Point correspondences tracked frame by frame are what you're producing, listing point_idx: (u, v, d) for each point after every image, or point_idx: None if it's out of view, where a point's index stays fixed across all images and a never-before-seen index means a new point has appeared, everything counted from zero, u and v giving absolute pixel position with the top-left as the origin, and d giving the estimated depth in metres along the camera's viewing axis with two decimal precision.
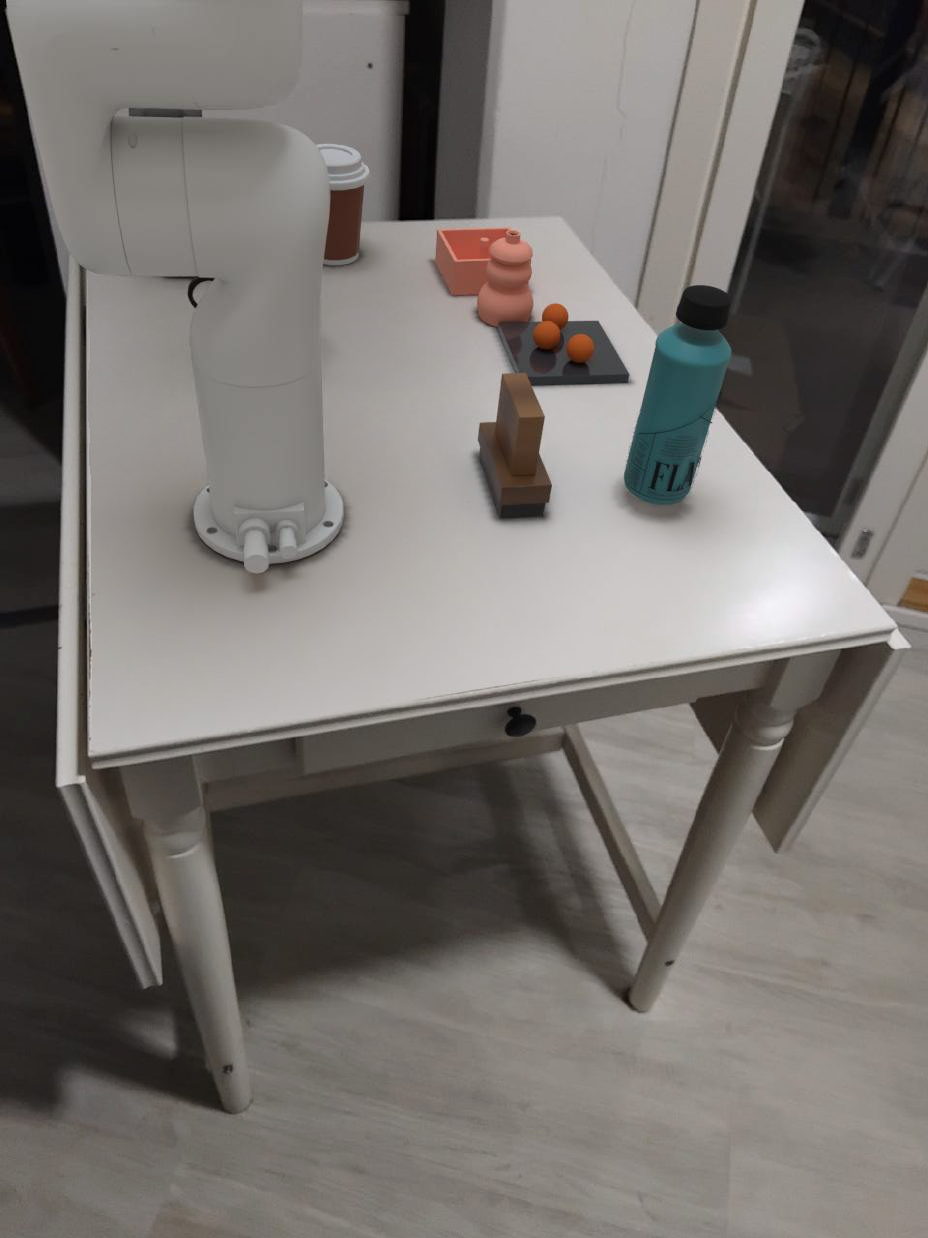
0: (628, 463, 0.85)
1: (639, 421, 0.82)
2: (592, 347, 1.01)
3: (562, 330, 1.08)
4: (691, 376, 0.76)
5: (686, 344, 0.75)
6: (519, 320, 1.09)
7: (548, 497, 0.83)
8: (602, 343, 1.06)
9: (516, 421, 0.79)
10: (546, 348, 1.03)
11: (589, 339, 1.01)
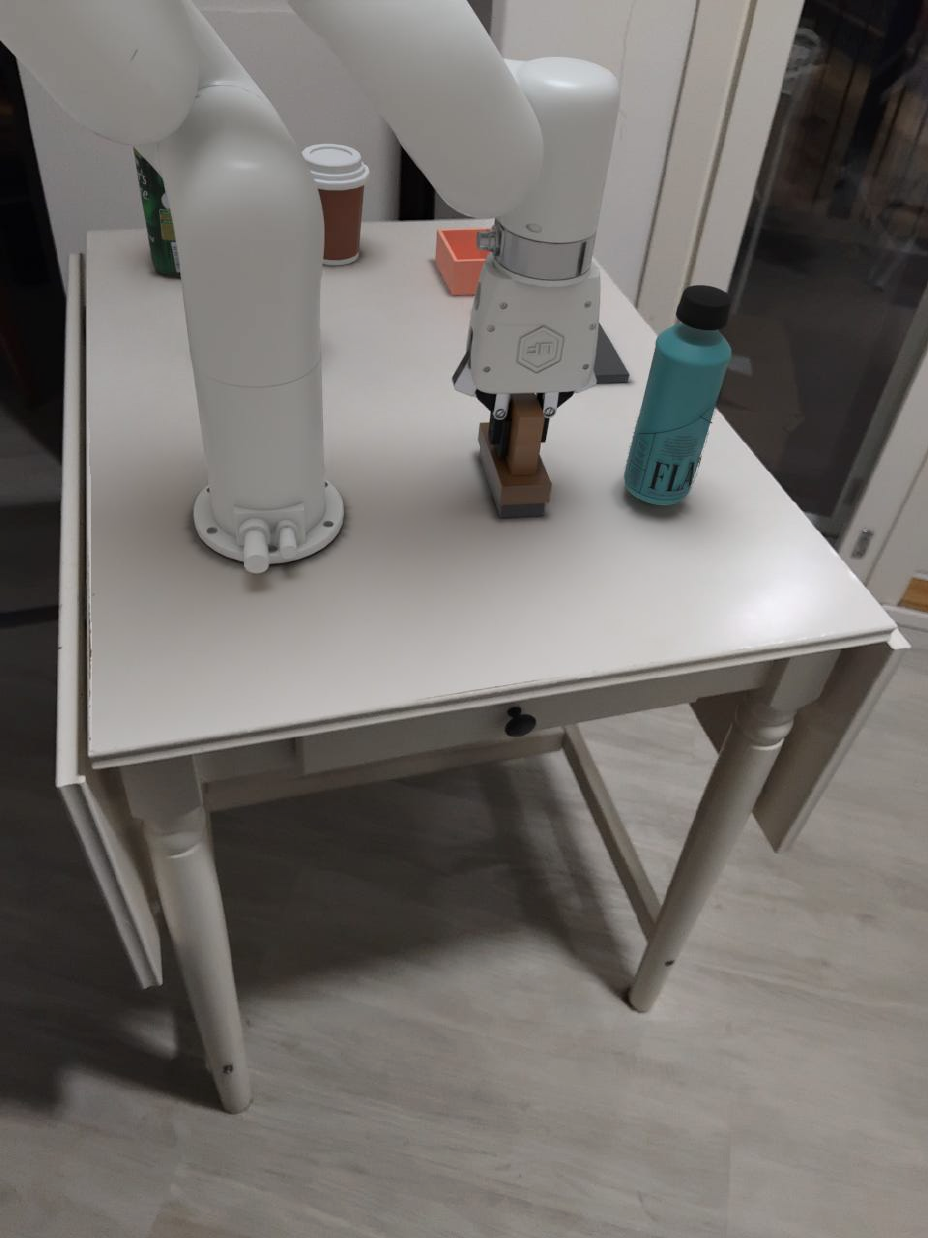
0: (628, 463, 0.85)
1: (639, 421, 0.82)
2: None
3: None
4: (691, 376, 0.76)
5: (686, 344, 0.75)
6: None
7: (548, 497, 0.83)
8: (602, 343, 1.06)
9: (516, 421, 0.79)
10: None
11: None
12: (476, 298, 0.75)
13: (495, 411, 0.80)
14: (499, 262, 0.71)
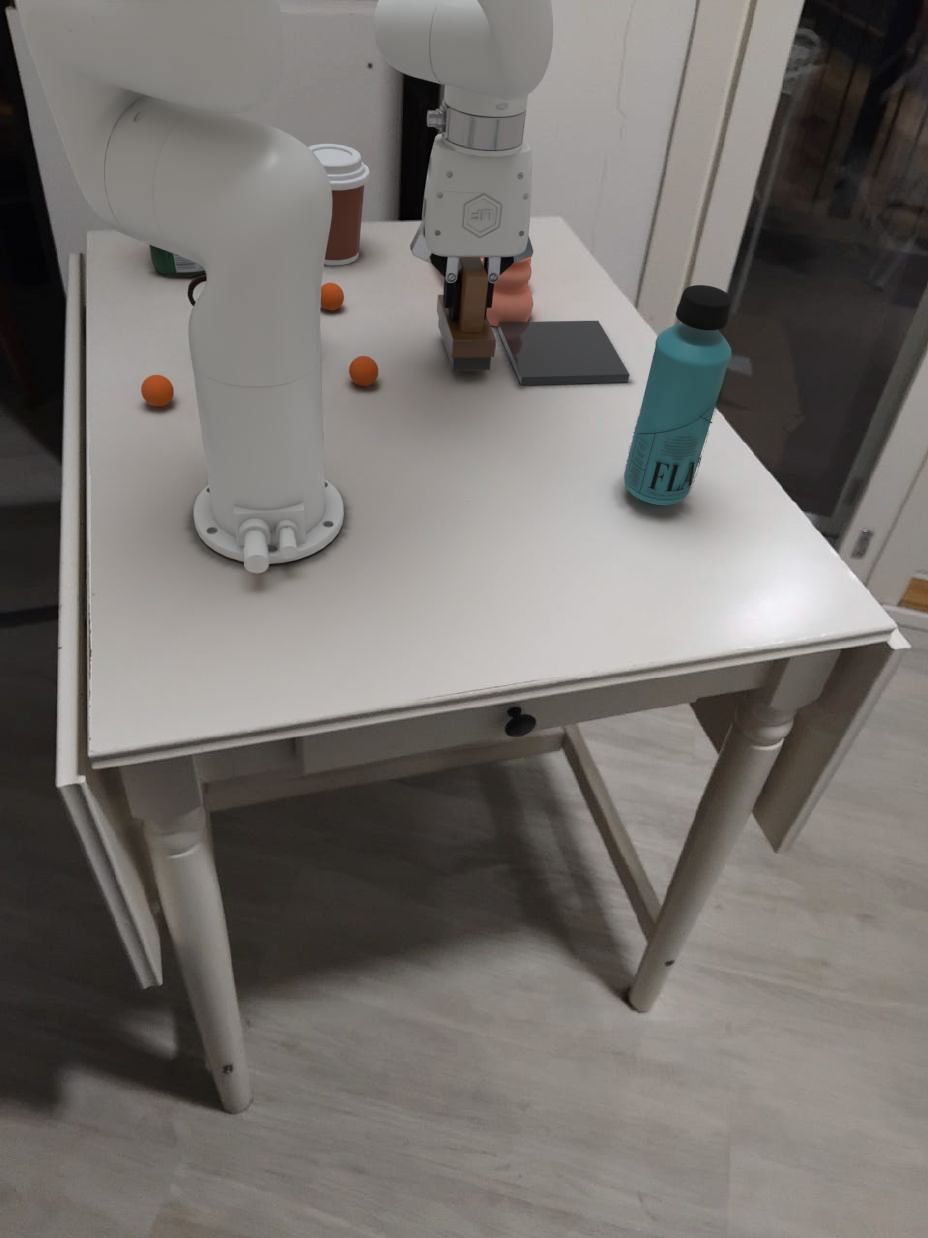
0: (628, 463, 0.85)
1: (639, 421, 0.82)
2: None
3: (562, 330, 1.08)
4: (691, 376, 0.76)
5: (686, 344, 0.75)
6: (519, 320, 1.09)
7: (493, 352, 0.98)
8: (602, 343, 1.06)
9: (464, 282, 0.94)
10: (357, 380, 0.96)
11: None
12: (428, 172, 0.90)
13: (447, 275, 0.95)
14: (445, 137, 0.86)
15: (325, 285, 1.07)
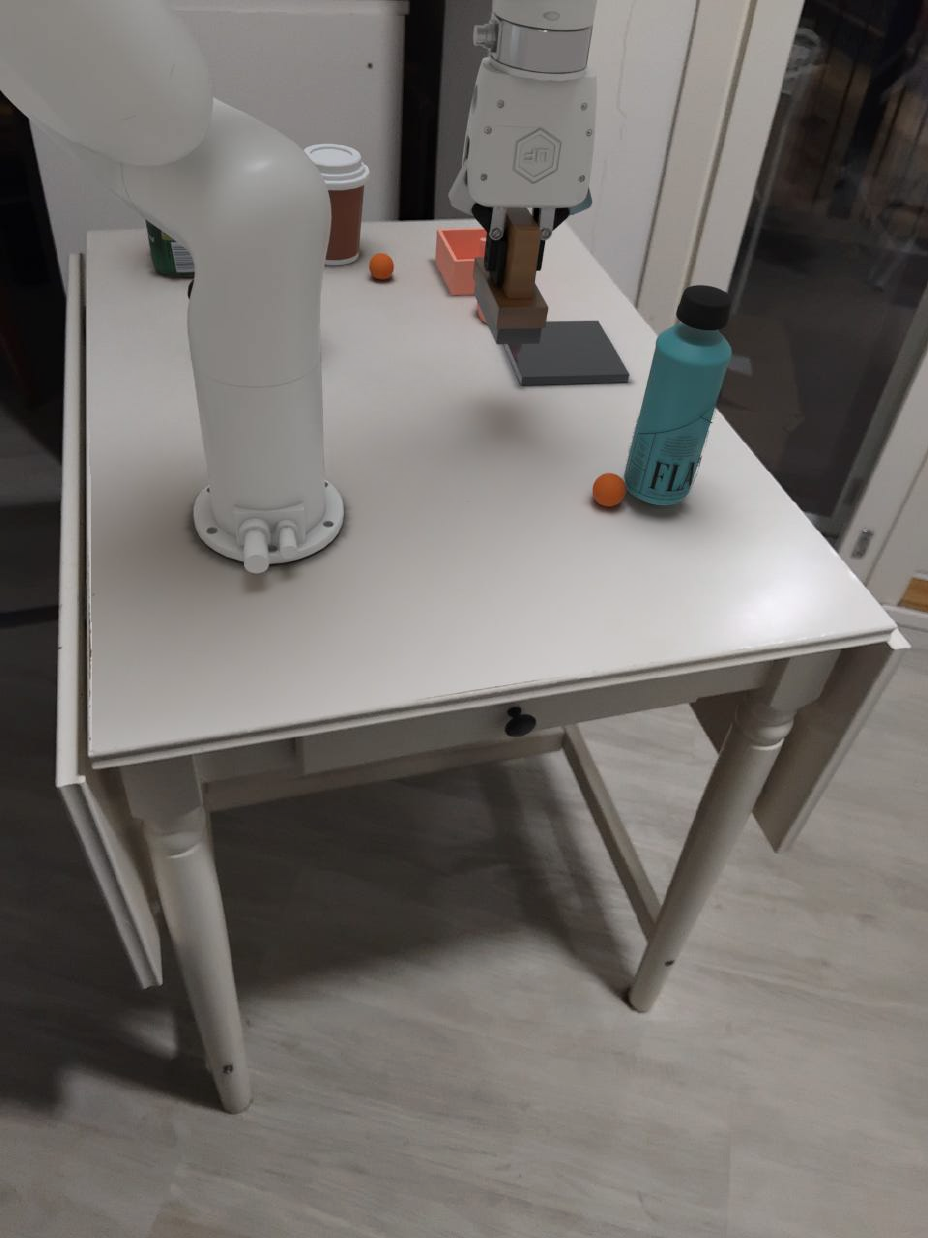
0: (628, 463, 0.85)
1: (639, 421, 0.82)
2: None
3: (562, 330, 1.08)
4: (691, 376, 0.76)
5: (686, 345, 0.75)
6: None
7: (544, 321, 0.83)
8: (602, 343, 1.06)
9: (513, 237, 0.80)
10: (600, 501, 0.85)
11: None
12: (472, 104, 0.75)
13: (491, 230, 0.80)
14: (496, 57, 0.71)
15: (393, 265, 1.14)
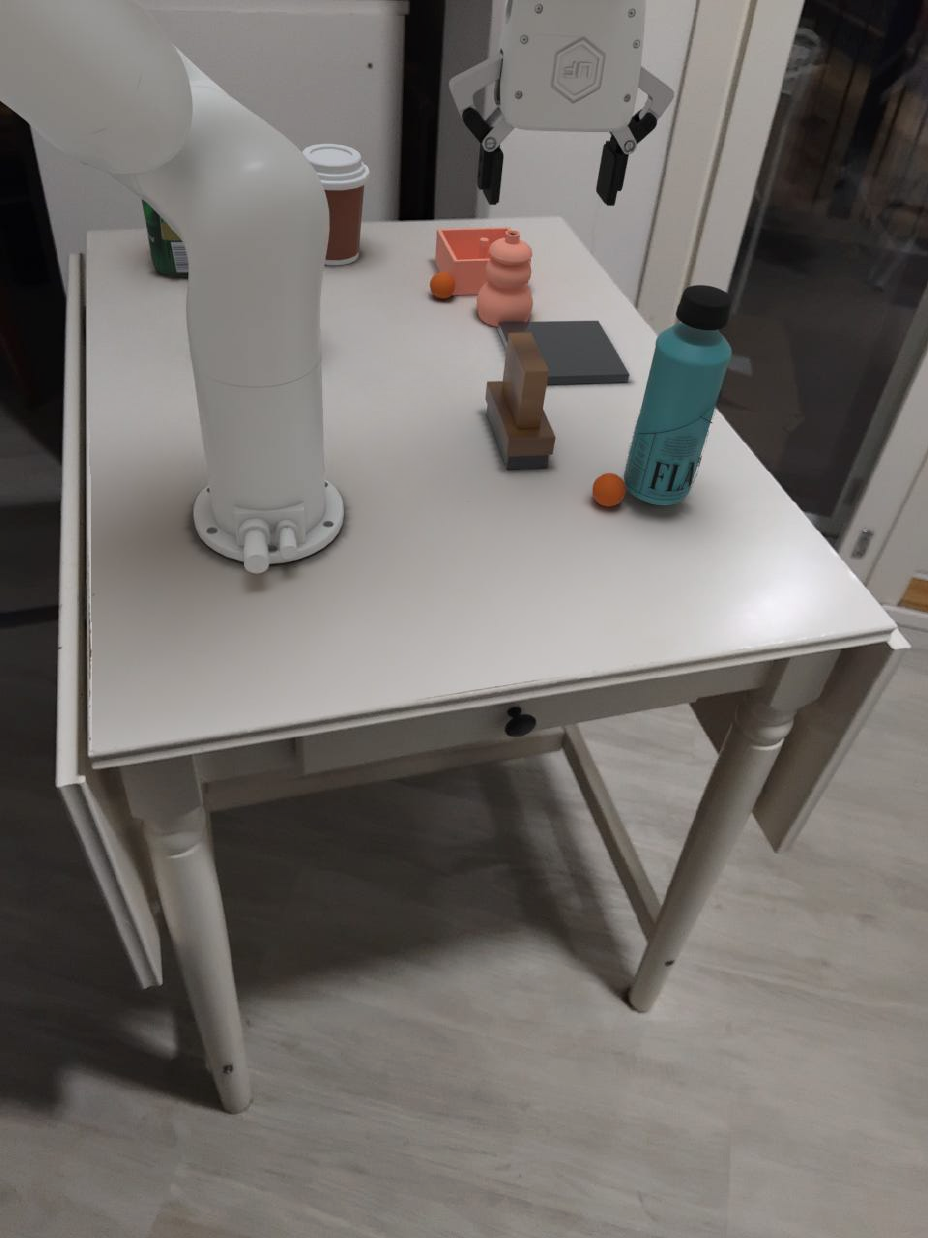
0: (628, 463, 0.85)
1: (639, 421, 0.82)
2: None
3: (562, 330, 1.08)
4: (691, 376, 0.76)
5: (686, 345, 0.75)
6: (518, 320, 1.09)
7: (552, 449, 0.88)
8: (602, 343, 1.06)
9: (522, 376, 0.85)
10: (600, 501, 0.85)
11: None
12: (507, 13, 0.67)
13: (488, 136, 0.71)
14: None
15: (450, 277, 1.11)
